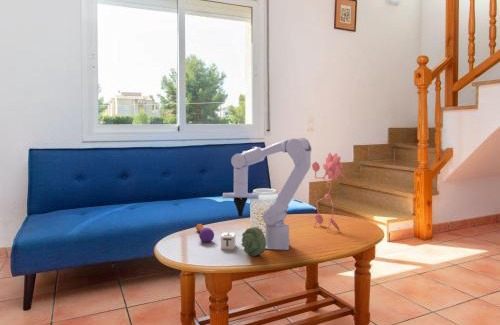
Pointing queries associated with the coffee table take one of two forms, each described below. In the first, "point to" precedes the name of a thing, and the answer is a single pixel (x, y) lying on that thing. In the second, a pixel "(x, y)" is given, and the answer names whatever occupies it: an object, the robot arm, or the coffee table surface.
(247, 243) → the decorative artifact
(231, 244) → the letter cube
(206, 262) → the coffee table surface
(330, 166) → the figurine
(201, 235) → the kendama
